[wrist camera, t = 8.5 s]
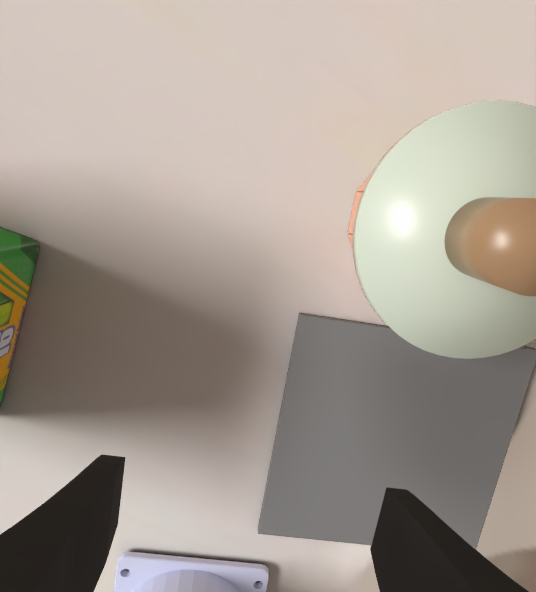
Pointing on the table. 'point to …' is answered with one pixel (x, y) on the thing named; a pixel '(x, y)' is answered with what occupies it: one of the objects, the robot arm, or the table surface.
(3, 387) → the chalk box
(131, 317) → the table surface
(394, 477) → the mat
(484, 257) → the lid
